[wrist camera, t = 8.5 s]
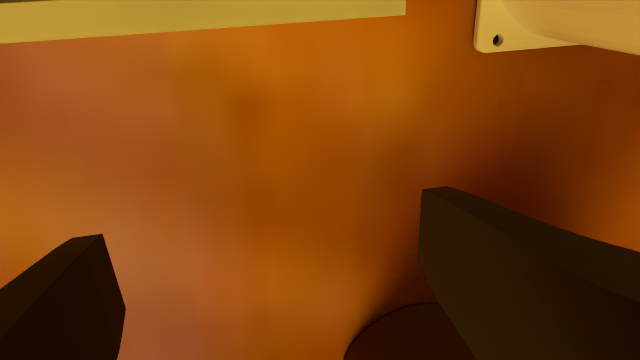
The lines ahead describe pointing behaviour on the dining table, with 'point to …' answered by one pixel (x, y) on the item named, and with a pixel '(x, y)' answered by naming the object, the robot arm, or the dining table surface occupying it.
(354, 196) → the dining table surface
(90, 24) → the cream square frame
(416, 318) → the olive oil
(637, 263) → the robot arm
